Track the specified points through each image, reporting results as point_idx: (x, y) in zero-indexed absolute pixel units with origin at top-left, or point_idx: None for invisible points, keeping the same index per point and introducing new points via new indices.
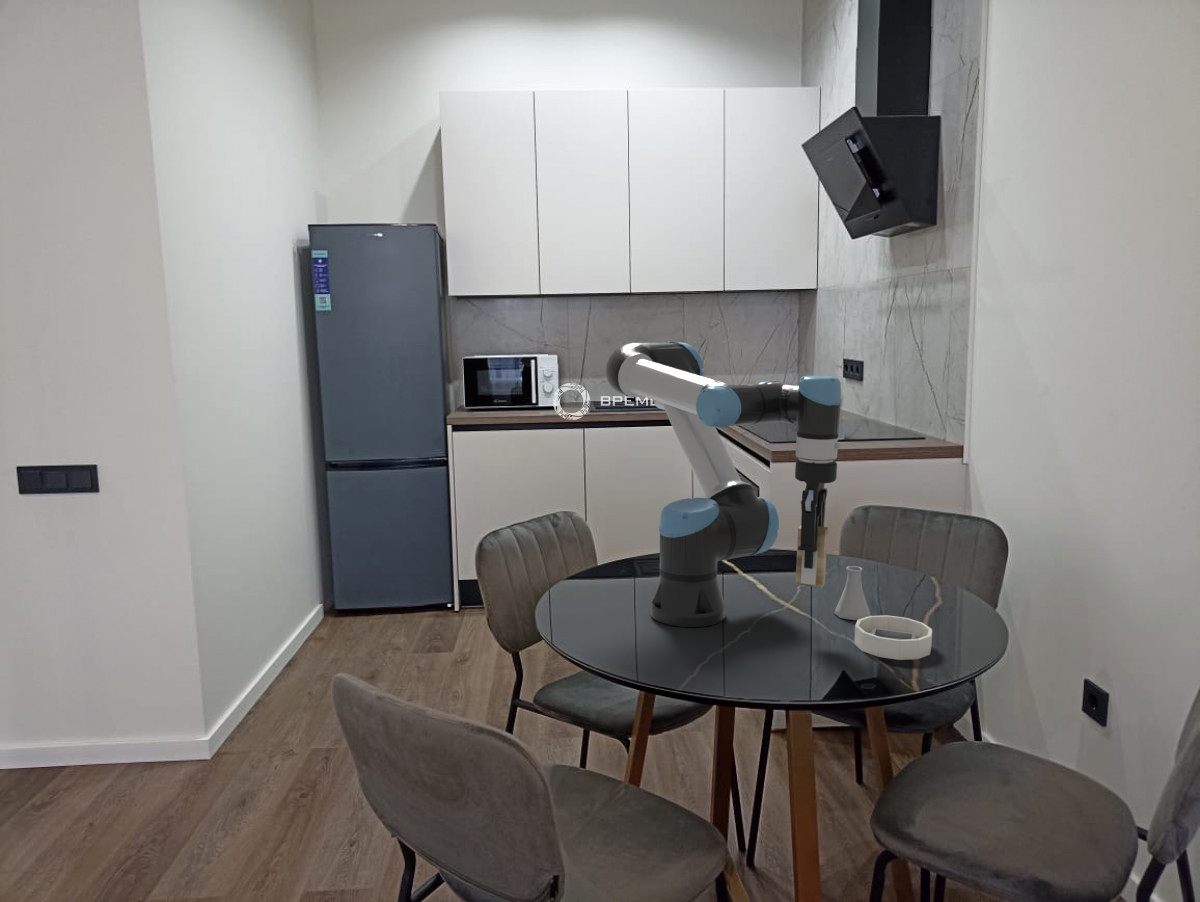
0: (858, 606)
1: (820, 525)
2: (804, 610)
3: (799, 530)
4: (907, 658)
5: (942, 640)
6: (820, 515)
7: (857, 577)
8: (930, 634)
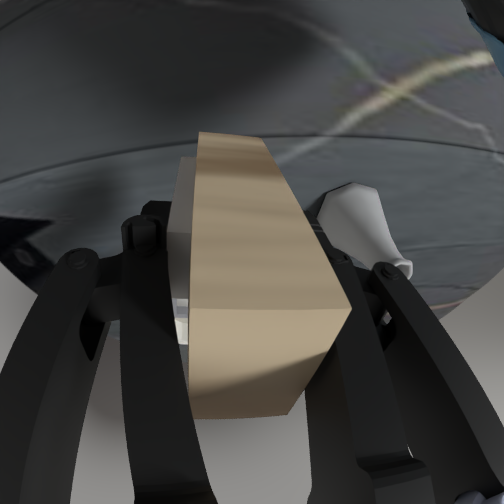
0: (336, 239)
1: (307, 399)
2: (369, 123)
3: (191, 300)
4: None
5: None
6: (313, 467)
7: None
8: (187, 343)
